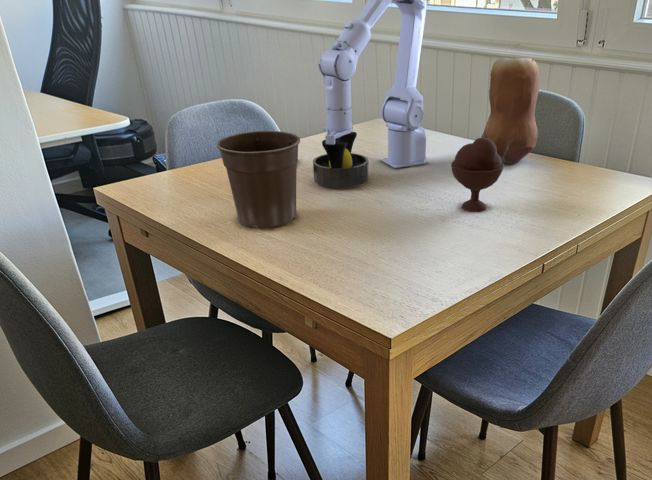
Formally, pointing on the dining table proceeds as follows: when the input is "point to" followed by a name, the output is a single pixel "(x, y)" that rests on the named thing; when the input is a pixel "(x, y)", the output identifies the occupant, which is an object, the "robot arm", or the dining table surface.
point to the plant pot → (262, 176)
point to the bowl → (341, 172)
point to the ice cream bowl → (477, 170)
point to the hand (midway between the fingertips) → (340, 167)
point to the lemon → (346, 160)
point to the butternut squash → (513, 107)
